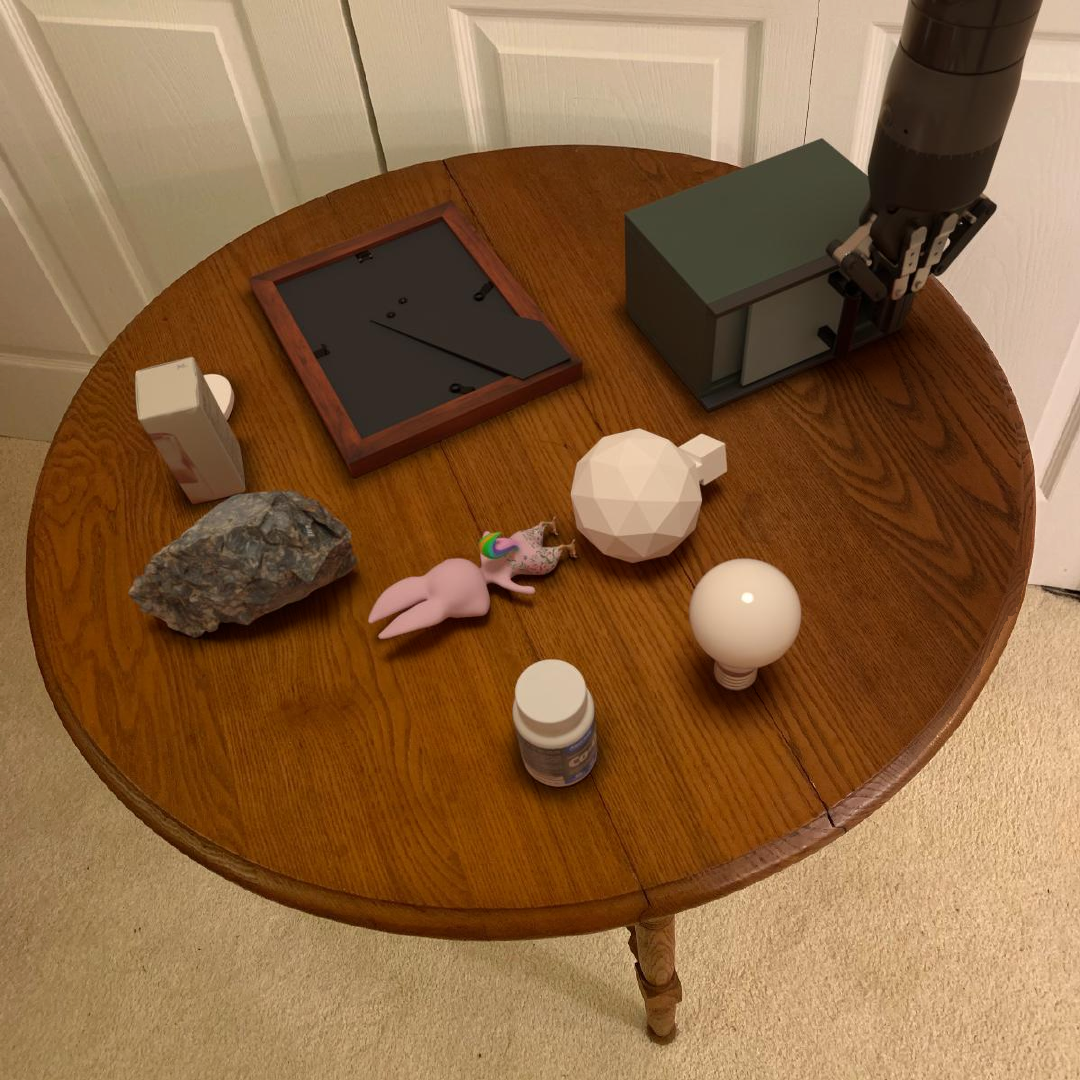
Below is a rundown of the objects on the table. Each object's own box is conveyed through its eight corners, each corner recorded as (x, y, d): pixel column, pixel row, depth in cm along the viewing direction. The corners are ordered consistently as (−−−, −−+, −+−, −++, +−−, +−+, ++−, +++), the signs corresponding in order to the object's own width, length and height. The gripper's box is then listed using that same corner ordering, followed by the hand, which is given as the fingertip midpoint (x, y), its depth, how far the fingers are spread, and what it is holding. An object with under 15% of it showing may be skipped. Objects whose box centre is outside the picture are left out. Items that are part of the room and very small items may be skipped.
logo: (238, 426, 80) (229, 360, 85) (235, 420, 79) (226, 353, 84) (158, 447, 80) (153, 379, 84) (154, 440, 79) (150, 372, 83)
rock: (198, 709, 66) (136, 633, 58) (143, 607, 71) (79, 524, 63) (383, 598, 70) (349, 512, 62) (318, 509, 75) (279, 419, 67)
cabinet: (900, 329, 81) (929, 226, 72) (707, 412, 77) (715, 314, 69) (805, 240, 88) (822, 137, 80) (625, 312, 84) (623, 212, 76)
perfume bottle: (635, 608, 65) (763, 524, 70) (617, 492, 60) (757, 410, 65) (555, 556, 71) (677, 482, 76) (532, 447, 66) (665, 375, 71)
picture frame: (583, 377, 80) (454, 215, 94) (581, 359, 79) (450, 197, 92) (353, 478, 76) (253, 293, 90) (347, 461, 75) (246, 275, 88)
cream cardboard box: (186, 459, 79) (134, 367, 71) (241, 445, 79) (195, 353, 71) (189, 509, 76) (135, 419, 68) (246, 495, 76) (199, 404, 68)
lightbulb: (663, 676, 64) (667, 584, 55) (729, 616, 67) (743, 518, 58) (739, 741, 61) (756, 655, 52) (805, 676, 64) (832, 582, 55)
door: (859, 370, 77) (881, 285, 70) (765, 412, 76) (777, 329, 69) (833, 343, 79) (851, 258, 72) (740, 383, 78) (749, 299, 71)
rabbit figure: (539, 528, 74) (354, 611, 68) (544, 471, 69) (346, 555, 63) (587, 585, 70) (397, 678, 65) (595, 530, 66) (392, 625, 60)
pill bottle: (584, 797, 60) (578, 740, 53) (511, 776, 61) (495, 716, 54) (607, 728, 63) (603, 664, 56) (536, 708, 64) (524, 643, 57)
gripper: (891, 181, 58) (841, 388, 72) (1072, 109, 61) (990, 323, 75) (816, 118, 62) (783, 326, 76) (989, 54, 65) (926, 266, 79)
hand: (886, 324), depth 76 cm, fingers closed
